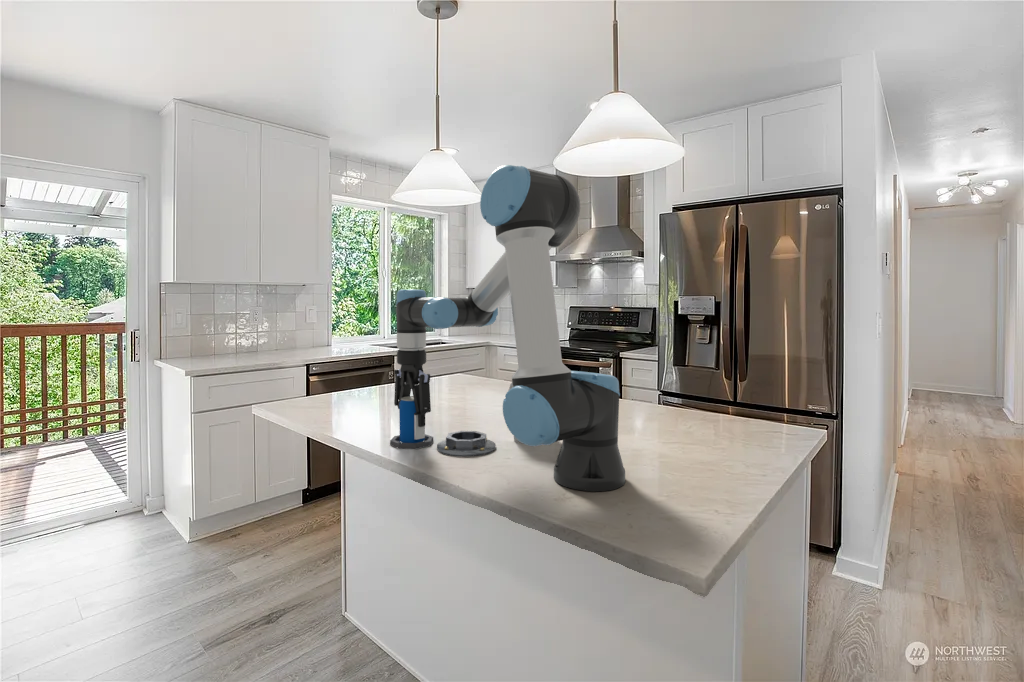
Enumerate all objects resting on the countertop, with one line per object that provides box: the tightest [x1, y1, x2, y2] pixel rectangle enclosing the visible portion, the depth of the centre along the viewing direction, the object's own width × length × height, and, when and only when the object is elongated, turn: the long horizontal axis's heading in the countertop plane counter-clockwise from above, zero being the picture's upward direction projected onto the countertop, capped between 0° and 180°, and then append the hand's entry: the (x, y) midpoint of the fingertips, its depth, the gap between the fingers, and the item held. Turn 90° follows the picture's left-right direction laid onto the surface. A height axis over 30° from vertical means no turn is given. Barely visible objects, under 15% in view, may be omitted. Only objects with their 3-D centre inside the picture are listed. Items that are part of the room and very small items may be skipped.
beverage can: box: [398, 395, 426, 443], centre depth 141 cm, size 6×6×12 cm
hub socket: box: [436, 430, 497, 458], centre depth 137 cm, size 15×15×3 cm
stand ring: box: [389, 433, 434, 450], centre depth 141 cm, size 10×10×1 cm
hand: (412, 435), depth 141 cm, fingers closed on beverage can, 6 cm apart
